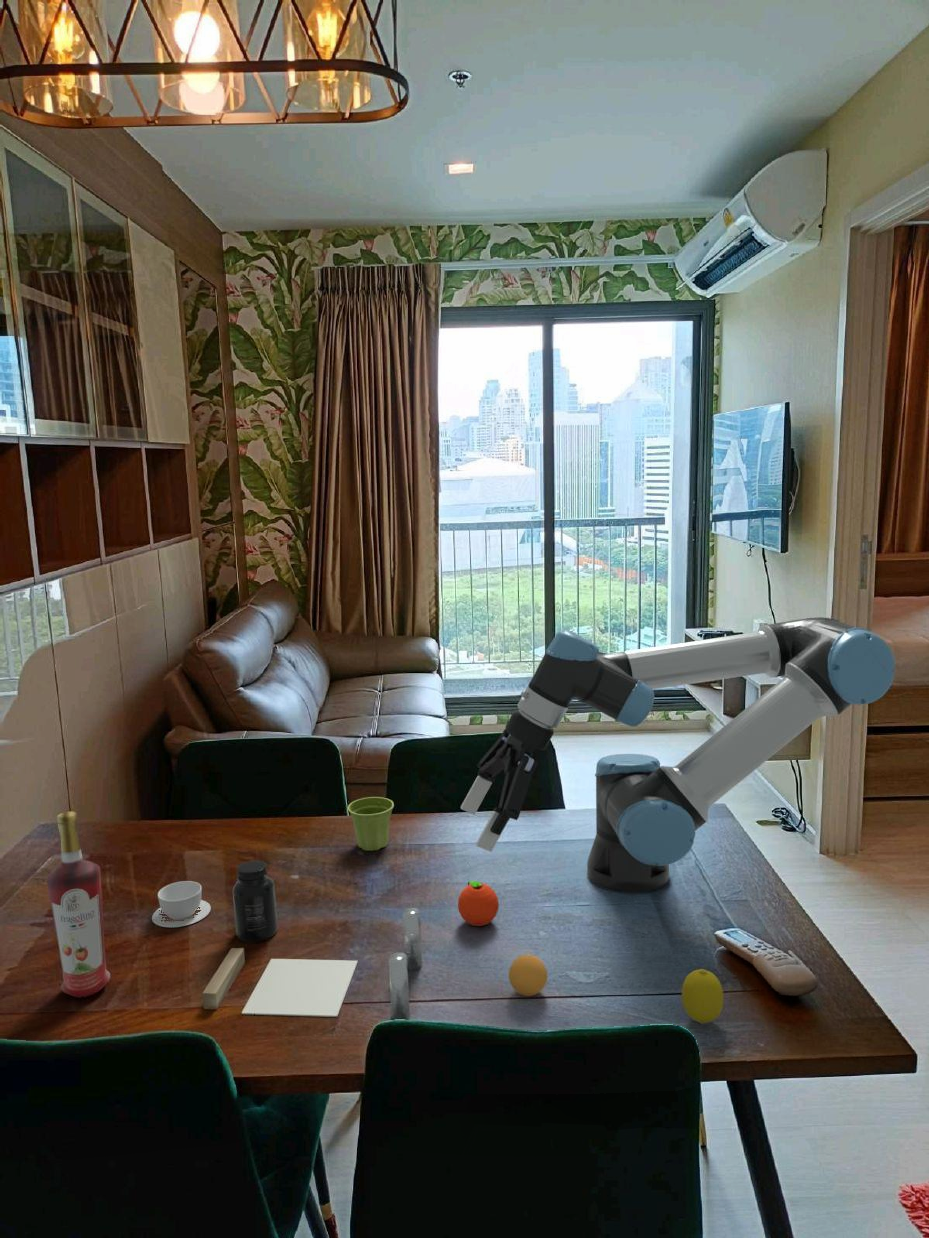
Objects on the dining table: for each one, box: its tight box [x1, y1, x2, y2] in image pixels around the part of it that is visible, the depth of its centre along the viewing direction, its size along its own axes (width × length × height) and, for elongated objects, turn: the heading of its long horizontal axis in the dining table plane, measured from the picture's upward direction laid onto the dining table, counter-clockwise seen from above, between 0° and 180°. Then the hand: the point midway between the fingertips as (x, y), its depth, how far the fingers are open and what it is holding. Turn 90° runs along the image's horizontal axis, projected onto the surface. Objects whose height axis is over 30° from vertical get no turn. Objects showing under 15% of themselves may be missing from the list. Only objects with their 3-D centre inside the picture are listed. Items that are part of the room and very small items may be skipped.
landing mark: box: [241, 958, 359, 1018], centre depth 131 cm, size 14×14×1 cm
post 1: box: [388, 952, 411, 1021], centre depth 123 cm, size 3×3×9 cm
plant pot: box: [347, 796, 395, 852], centre depth 180 cm, size 9×9×9 cm
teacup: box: [151, 880, 212, 928], centre depth 154 cm, size 10×10×5 cm
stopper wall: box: [202, 947, 246, 1010], centre depth 132 cm, size 2×12×2 cm, turn 175°
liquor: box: [46, 811, 111, 999], centre depth 130 cm, size 7×7×28 cm
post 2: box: [402, 907, 423, 971], centre depth 135 cm, size 3×3×9 cm
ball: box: [508, 954, 548, 997], centre depth 128 cm, size 6×6×6 cm
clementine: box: [457, 880, 500, 927], centre depth 148 cm, size 8×7×7 cm
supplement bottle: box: [232, 860, 278, 943], centre depth 146 cm, size 7×7×12 cm
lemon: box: [681, 968, 724, 1025], centre depth 119 cm, size 6×6×8 cm
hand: (475, 828), depth 146 cm, fingers open, 13 cm apart
